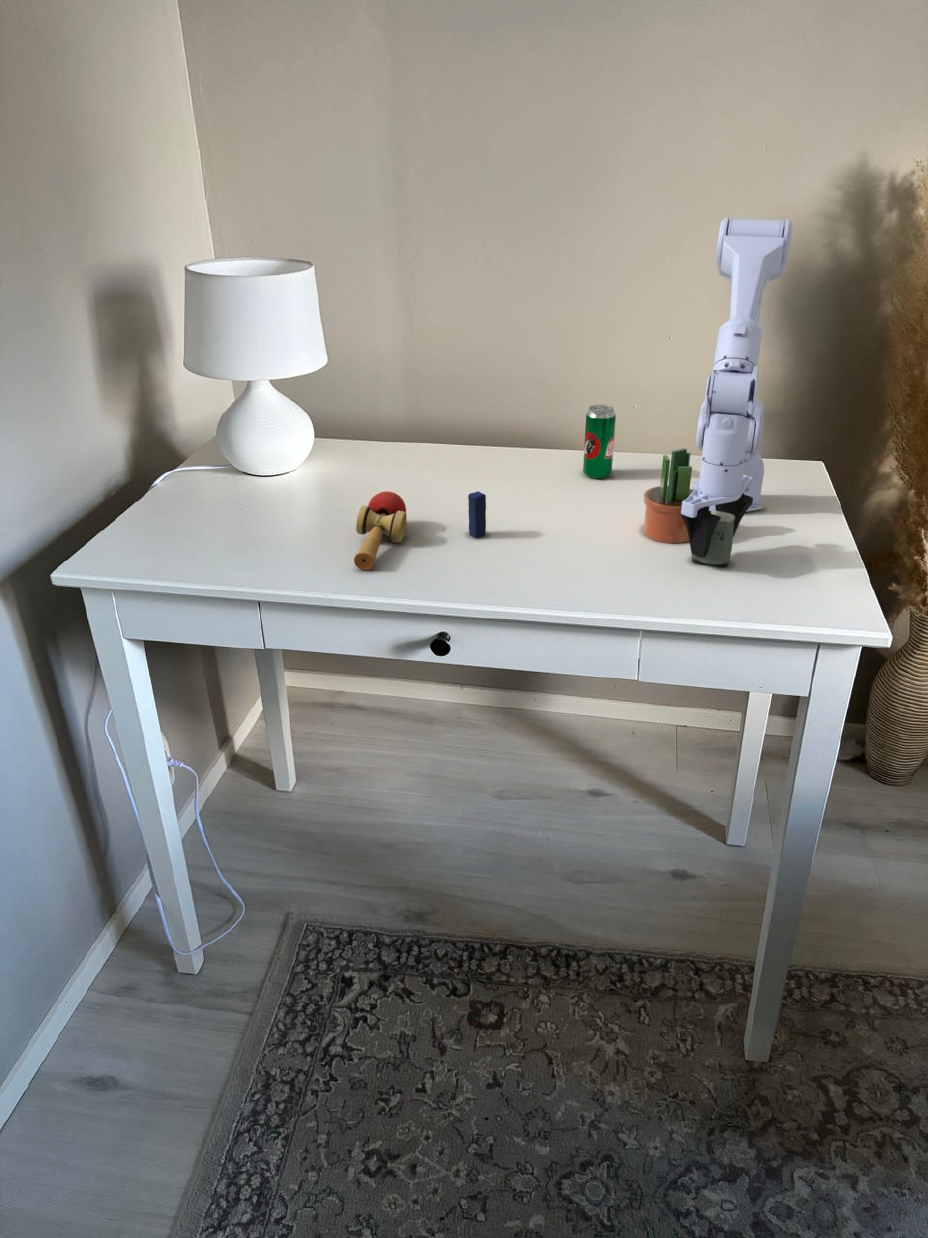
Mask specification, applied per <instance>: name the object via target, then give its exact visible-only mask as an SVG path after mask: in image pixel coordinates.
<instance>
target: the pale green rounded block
mask: <svg viewBox="0 0 928 1238" xmlns="http://www.w3.org/2000/svg"><path fill="white" fill-rule="evenodd" d="M711 514H714V515H717V516H720V517H721V519H720V520H719V522H718V523H717V525H716V527H715V529H714V531H713V534H712V537H711V541H710V546H709V550H708V553H707V555H706V557H704V558H701V557H698V556H695V555H693V554H691V562H692V563H693V564H696V565H703V566H712V567H719V568H726V567H728V566H729V565H730V560H731V555H732V550H733V541H734V538H733V527H734V520H735V516H734V515H733V514H730V513H726V512H719V511H711Z"/></svg>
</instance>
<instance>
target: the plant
mask: <svg viewBox="0 0 928 1238" xmlns="http://www.w3.org/2000/svg"><path fill="white" fill-rule="evenodd" d="M662 456H663V457H662V464H661V475H660V485H659V486H653V487H650V488H649V489H646V490H645V492H644V493H643V503H644V505H645V508H644V519H643V520H644V521H643V530H642V531H643V533H644V535H645V536H646V537H648V538H649V539H651V540H653V541H656V542H660V543H666V544H682V543H688V542H690V541H689V536H688V531H687V528H686V525H685V523H684V521H683V519H682V517H681V515H680V507H681V506H682V501H684V500H686V499H687V498H688V497H689V496H690V495H691V493H692V492H693V491H694V489H693V488H691V482H692V474H693V473H692V472H693V466H692V465H690V461H691V452H689V451H688V449H687V448H685V447H684V448H678V449H674V450H672V451H671V457H670V458H669V456H668V455H667V454H663V455H662Z"/></svg>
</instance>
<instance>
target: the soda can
mask: <svg viewBox="0 0 928 1238" xmlns="http://www.w3.org/2000/svg"><path fill="white" fill-rule="evenodd" d="M616 419H617V414H616V412H615V408H614V407H613V406H612V405H607V404H593V405H591V406H589V407H588V411H587V412H586V413H585V426H584V427H585V429H584V431H585V432H584V448H583V463H582V465H583V466H582V472H583V474H584V475H585V476H586V477H587V478H588V479H589V478H590V479H593V480H602V479H607V478H608V477H610V475H612V473H613V461H614V448H615V436H616V435H615V434H616Z"/></svg>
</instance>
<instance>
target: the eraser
mask: <svg viewBox="0 0 928 1238" xmlns="http://www.w3.org/2000/svg"><path fill="white" fill-rule="evenodd" d="M467 500H468V503H467V504H468V505H467V506H468V534H469V536H471V537H472V538H474V539H479V538H483V537H484V536H486V534H487V533H486V531H487V519H486V518H487V513H486V511H487V495H486V494H485V493H483V492H481V491H474V492H470V493H469V494H468V495H467Z"/></svg>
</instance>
